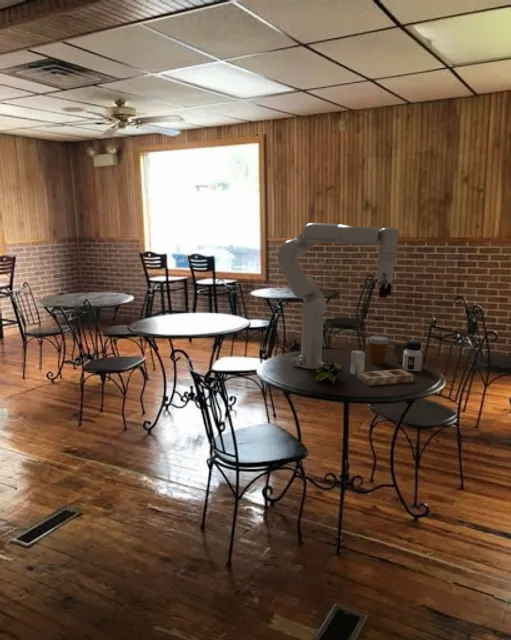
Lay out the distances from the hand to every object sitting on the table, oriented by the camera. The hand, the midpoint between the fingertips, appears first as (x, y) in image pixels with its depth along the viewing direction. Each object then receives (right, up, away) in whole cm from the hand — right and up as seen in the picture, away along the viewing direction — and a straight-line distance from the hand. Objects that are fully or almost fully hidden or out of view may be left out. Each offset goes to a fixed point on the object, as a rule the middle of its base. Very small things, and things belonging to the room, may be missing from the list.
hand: (384, 296), depth 233 cm
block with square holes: (-1, -36, -4) cm, 37 cm away
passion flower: (-25, -37, -8) cm, 45 cm away
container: (+16, -33, +15) cm, 40 cm away
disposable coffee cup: (+2, -31, +25) cm, 40 cm away
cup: (+14, -31, +26) cm, 43 cm away
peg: (-11, -34, +5) cm, 37 cm away
